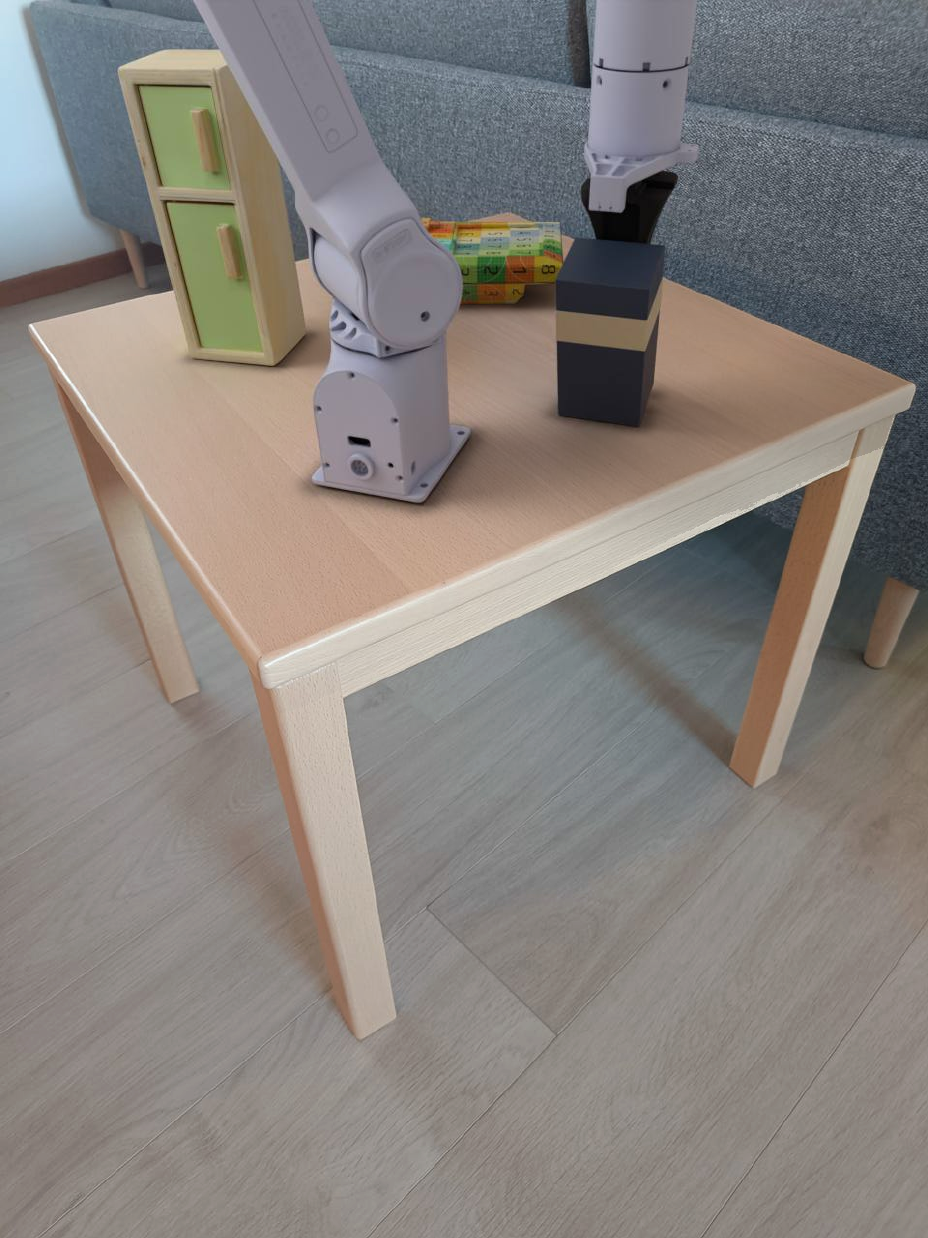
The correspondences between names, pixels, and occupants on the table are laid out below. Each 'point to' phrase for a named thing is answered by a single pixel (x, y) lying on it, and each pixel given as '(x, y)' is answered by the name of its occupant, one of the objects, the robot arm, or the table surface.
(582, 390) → the carton
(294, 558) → the table surface
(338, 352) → the robot arm
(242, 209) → the toy refrigerator
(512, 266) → the puzzle game
